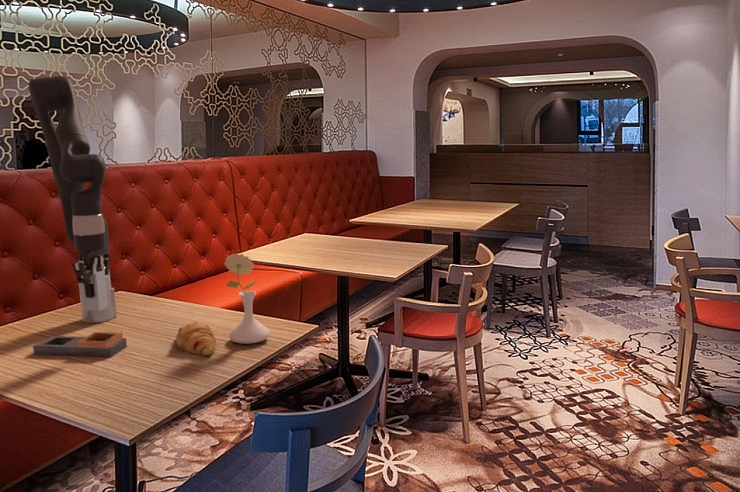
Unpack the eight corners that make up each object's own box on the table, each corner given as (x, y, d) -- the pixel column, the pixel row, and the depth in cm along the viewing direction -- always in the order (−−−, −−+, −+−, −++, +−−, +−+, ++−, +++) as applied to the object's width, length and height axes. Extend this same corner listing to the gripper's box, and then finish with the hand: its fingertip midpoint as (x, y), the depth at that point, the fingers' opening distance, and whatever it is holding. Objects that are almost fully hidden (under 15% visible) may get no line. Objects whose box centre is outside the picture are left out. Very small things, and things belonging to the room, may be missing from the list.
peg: (107, 306, 159) (104, 270, 158) (99, 310, 155) (95, 273, 154) (94, 306, 160) (90, 270, 158) (85, 310, 156) (81, 273, 154)
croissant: (222, 367, 157) (234, 339, 157) (188, 359, 150) (201, 329, 151) (191, 345, 173) (202, 319, 174) (159, 336, 166) (171, 309, 167)
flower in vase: (278, 336, 170) (274, 251, 165) (254, 349, 159) (249, 259, 155) (241, 331, 175) (236, 248, 171) (216, 343, 165) (210, 255, 160)
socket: (126, 346, 163) (125, 332, 162) (110, 357, 155) (109, 342, 155) (53, 344, 166) (51, 330, 165) (33, 354, 158) (32, 340, 157)
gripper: (91, 227, 161) (97, 288, 164) (58, 235, 147) (65, 302, 150) (117, 227, 160) (123, 288, 163) (86, 236, 146) (93, 302, 150)
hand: (95, 294), depth 157 cm, fingers closed on peg, 4 cm apart
